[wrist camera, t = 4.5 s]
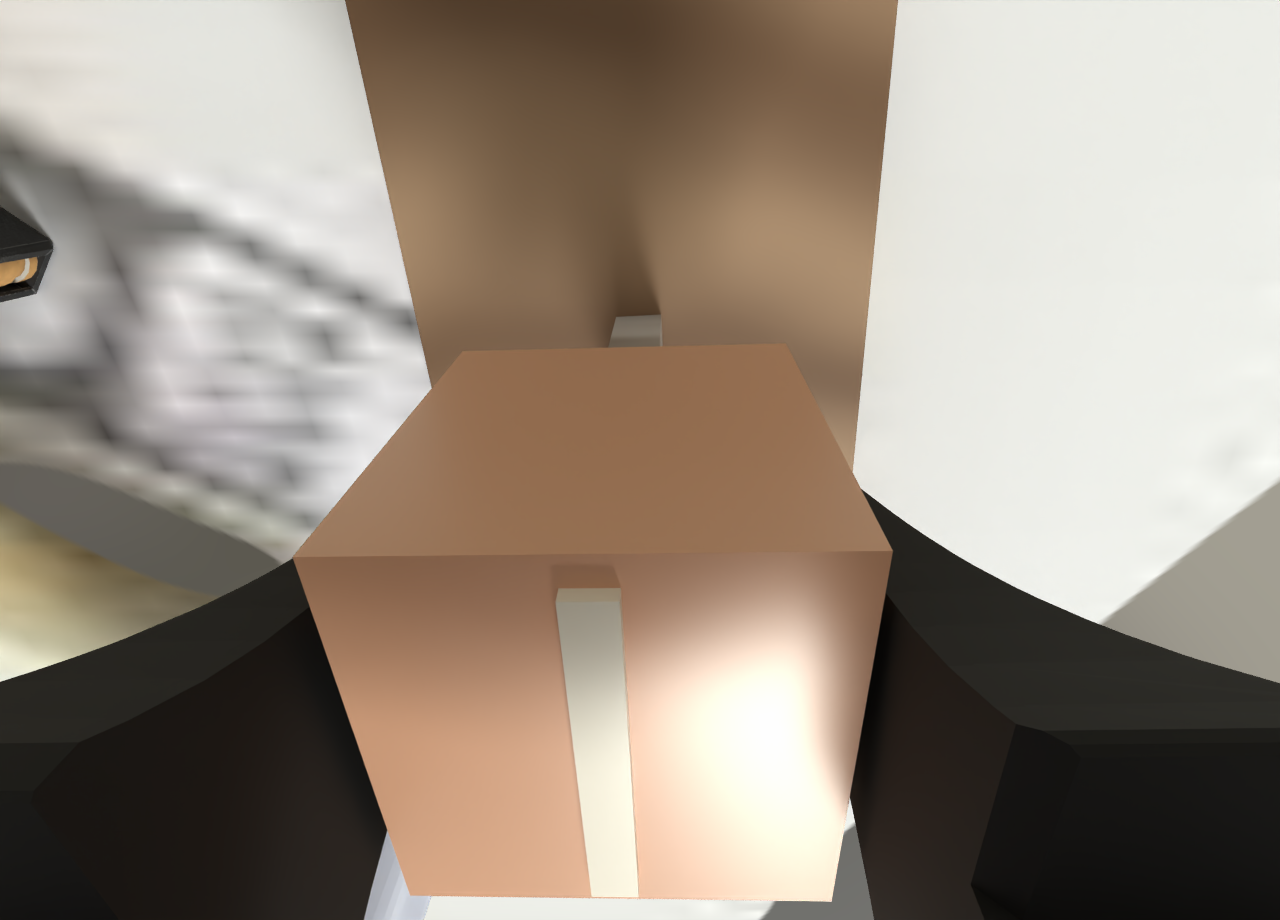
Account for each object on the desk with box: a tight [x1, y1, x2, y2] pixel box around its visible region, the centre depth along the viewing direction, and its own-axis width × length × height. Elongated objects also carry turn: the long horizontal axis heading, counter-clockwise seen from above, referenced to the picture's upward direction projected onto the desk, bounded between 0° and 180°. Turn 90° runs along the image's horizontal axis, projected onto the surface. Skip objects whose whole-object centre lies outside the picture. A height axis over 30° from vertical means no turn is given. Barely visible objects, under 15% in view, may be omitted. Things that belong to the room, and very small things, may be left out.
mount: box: [345, 0, 898, 472], centre depth 17 cm, size 20×12×6 cm, turn 4°
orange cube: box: [293, 343, 893, 901], centre depth 10 cm, size 6×6×6 cm
